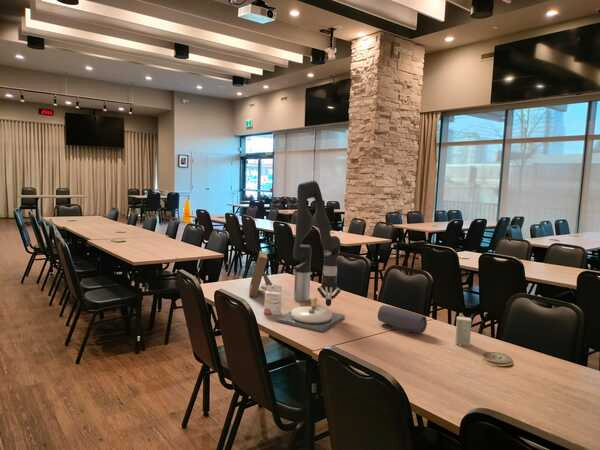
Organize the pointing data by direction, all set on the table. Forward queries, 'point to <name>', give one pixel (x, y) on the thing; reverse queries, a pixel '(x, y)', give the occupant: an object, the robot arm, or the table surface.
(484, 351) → the table surface
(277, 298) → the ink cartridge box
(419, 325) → the bluetooth speaker
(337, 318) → the base plate
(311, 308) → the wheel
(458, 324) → the skincare box
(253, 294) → the photo frame
